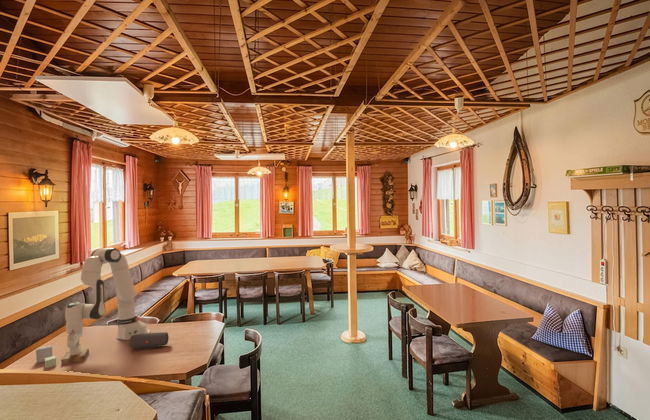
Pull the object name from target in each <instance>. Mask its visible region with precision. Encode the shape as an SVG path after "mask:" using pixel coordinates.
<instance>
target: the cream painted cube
mask: <svg viewBox="0 0 650 420" xmlns="http://www.w3.org/2000/svg"><path fill="white" fill-rule="evenodd" d="M81 345H82V344H81V343H79V344H76V345H75V352H71V348H68V350H69V351H68V352H69V355H70V356H72V355H78V354H80V352H81V350H82V346H81Z"/></svg>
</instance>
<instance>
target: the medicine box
mask: <svg viewBox="0 0 650 420" xmlns="http://www.w3.org/2000/svg"><path fill="white" fill-rule="evenodd" d="M35 355H36V356H35V357H36V358H35V359H36V364H41V363H45V358H48V357H52V356H54V355H53V345H52V344H50V345H46V346H40V347H37V348H36V349H35Z"/></svg>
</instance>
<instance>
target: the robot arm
mask: <svg viewBox="0 0 650 420" xmlns="http://www.w3.org/2000/svg"><path fill="white" fill-rule="evenodd" d="M104 264H109V265H110V269H111V274H112V278H113V282H114V285H115V288H116V290H115V291H116V295H115V297H116V305H117V334H116V339H118V340H122V341H127V340H130V338H131V336H132V335H137V334H146V333H151V329H150V328H148V327H147V325H146V323H145V322H143V321H141V320H139V315H136V309H135V308H136V307H135V306H136V305H135V297H136V289H135V285H134V282H133V279H132V276H131V272H130V268H129V264H128V261H127V259H126V256H125V255H124V254H123V253H121V252H120V250H119V249H118V248H115V247H105V248H104V247H103V248H97V249H95V250H94V251H92V252H91V254H90V256H88V257H87V258H85V260H84V263H83V265H82V269H81V273H80V274H81V275H80V281H81V282H82V283H83V284H84V285H85V286H87V287H90V288H91V289H93V292H94V303H81V302H80V301H74V302H70V303H69V304H67V305H66V307H65V310H64V311H65V313H64V314H65V316H64V318H65V321H66V323H65V333H66V334H67V340H66V341H67V342H66V346H67V348H68V349H69V348H71V352H75V345H76V344H80V339H81V338H82V337H83V329H84V322H83V320H100V319H101V318H103V316H104V315H105V314H106V305H105V283H104V281H103V279H102V276H101V275H102V274H101V273H102V268H103V265H104Z"/></svg>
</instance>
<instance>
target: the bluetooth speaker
mask: <svg viewBox="0 0 650 420" xmlns="http://www.w3.org/2000/svg"><path fill="white" fill-rule="evenodd" d="M169 338H170V337H169V333H168V332H167V331H165V332H161V331H160V332H150V333H146V334H137V335H132V336H131V338H130V339H129V348H130V349H141V350H147V349H150V350H151V349H156V348H158V347H162V346H167V345H168V343H169Z"/></svg>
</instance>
